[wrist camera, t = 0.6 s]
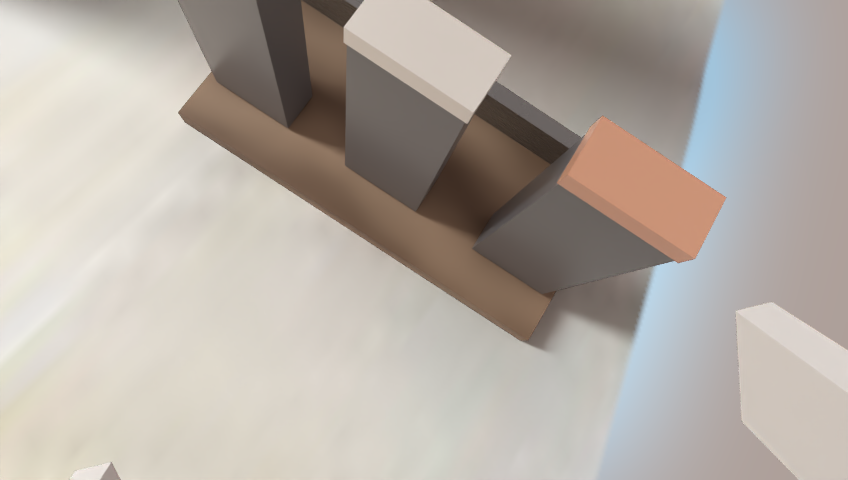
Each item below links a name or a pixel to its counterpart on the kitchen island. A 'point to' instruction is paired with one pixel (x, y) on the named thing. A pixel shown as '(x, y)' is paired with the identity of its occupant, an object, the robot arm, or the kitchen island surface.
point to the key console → (374, 208)
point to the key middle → (411, 92)
